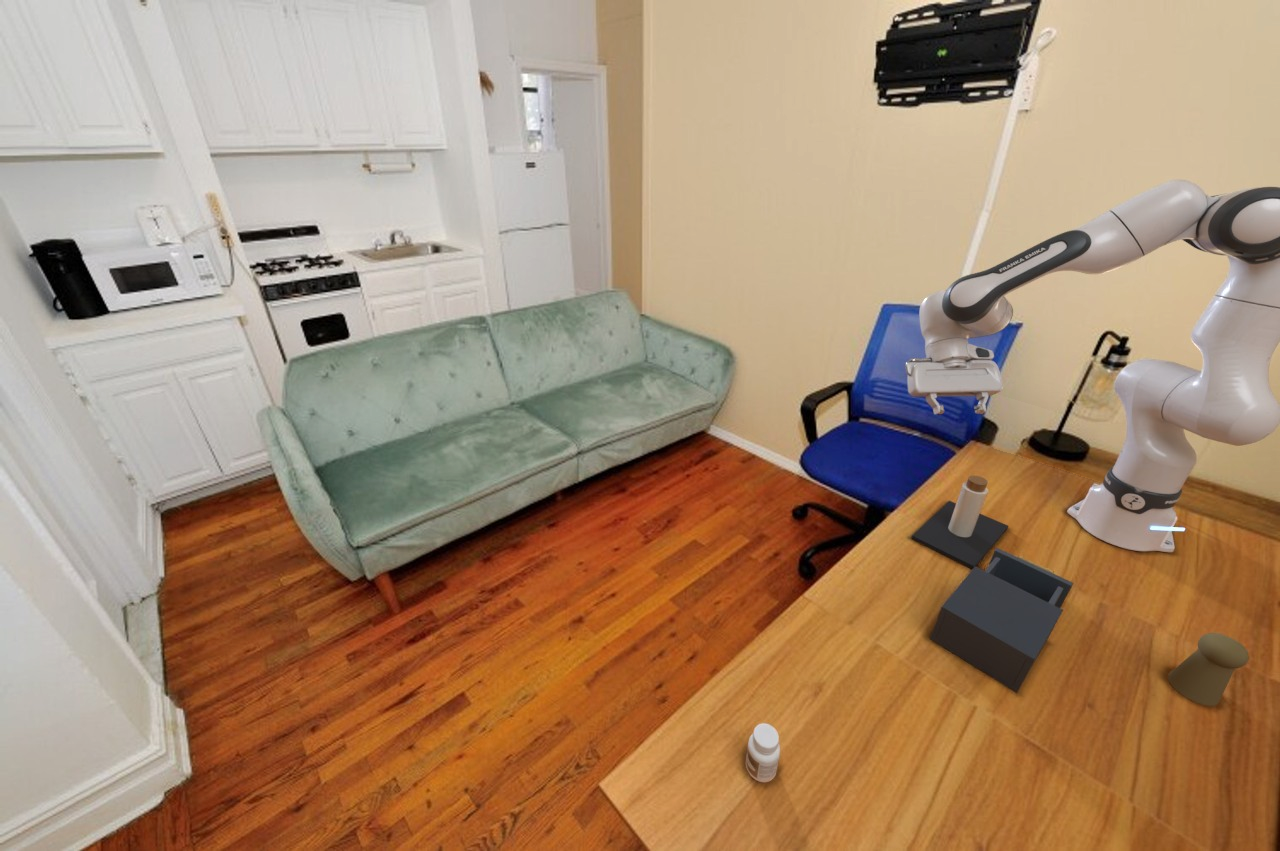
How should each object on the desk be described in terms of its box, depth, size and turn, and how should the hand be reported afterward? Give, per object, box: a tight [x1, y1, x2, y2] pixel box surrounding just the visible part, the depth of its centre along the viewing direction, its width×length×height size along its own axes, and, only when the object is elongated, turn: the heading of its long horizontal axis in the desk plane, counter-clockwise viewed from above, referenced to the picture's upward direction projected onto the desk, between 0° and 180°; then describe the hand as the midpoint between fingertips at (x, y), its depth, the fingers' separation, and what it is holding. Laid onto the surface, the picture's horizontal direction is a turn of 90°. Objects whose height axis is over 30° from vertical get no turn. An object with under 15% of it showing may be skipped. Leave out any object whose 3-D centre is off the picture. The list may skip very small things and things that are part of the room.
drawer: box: [984, 547, 1074, 609], centre depth 96 cm, size 18×13×6 cm
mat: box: [910, 500, 1009, 570], centre depth 116 cm, size 20×13×1 cm, turn 130°
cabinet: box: [929, 566, 1064, 694], centre depth 89 cm, size 15×14×8 cm
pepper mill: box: [948, 475, 989, 537], centre depth 112 cm, size 5×5×14 cm
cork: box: [1167, 632, 1250, 707], centre depth 79 cm, size 6×6×11 cm
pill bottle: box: [745, 722, 781, 783], centre depth 71 cm, size 4×4×8 cm
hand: (960, 413), depth 114 cm, fingers open, 8 cm apart
